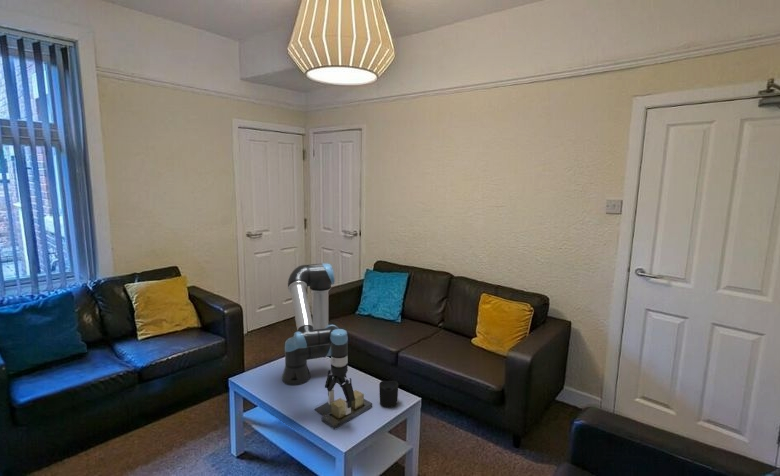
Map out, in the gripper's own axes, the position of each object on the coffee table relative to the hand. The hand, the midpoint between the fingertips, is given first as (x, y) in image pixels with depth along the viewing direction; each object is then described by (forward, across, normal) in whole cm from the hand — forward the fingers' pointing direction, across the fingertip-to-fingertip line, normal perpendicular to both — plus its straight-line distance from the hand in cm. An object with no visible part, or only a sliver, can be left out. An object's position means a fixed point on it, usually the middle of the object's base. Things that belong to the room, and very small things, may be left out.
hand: (339, 408), depth 182 cm
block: (+5, 0, +10) cm, 11 cm away
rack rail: (+5, 0, +5) cm, 7 cm away
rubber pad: (+5, -10, 0) cm, 11 cm away
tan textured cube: (+5, 0, 0) cm, 5 cm away
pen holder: (+5, +8, +25) cm, 27 cm away
